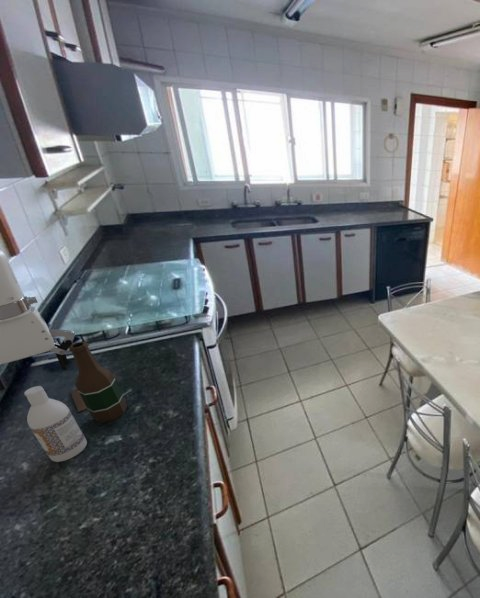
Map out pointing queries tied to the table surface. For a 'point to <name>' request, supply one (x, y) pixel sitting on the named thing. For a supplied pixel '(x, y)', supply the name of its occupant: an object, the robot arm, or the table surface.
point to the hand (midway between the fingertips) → (34, 377)
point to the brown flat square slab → (79, 400)
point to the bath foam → (54, 426)
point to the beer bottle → (97, 386)
